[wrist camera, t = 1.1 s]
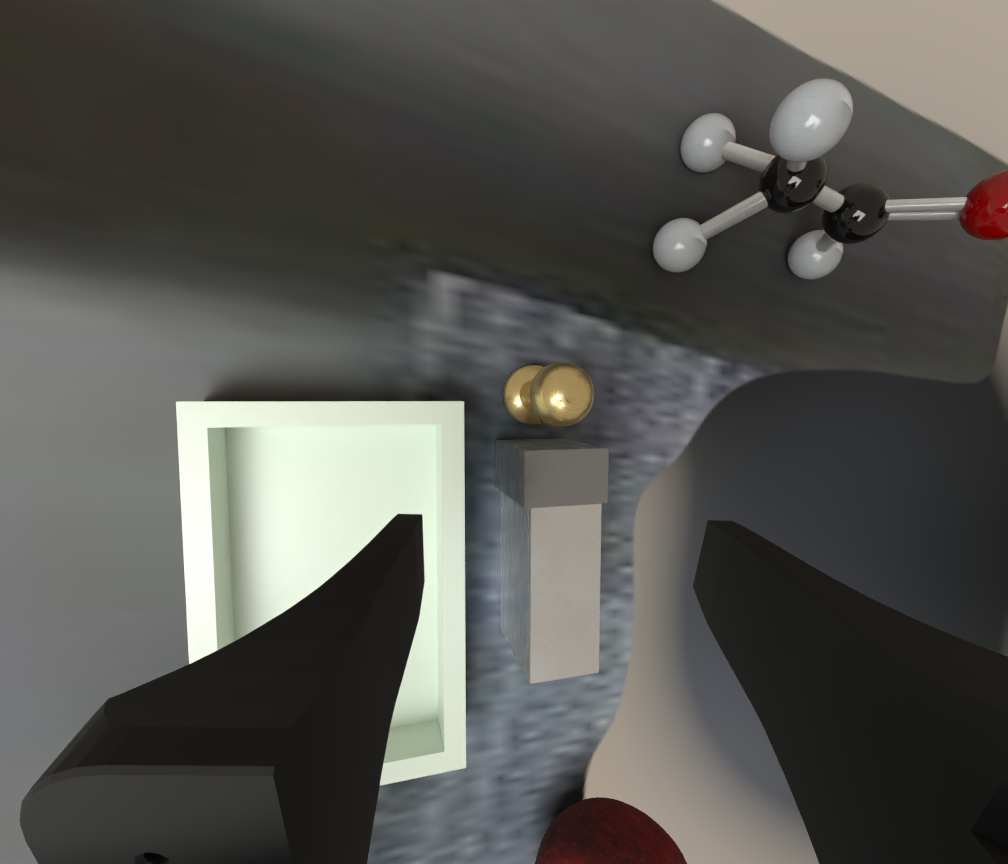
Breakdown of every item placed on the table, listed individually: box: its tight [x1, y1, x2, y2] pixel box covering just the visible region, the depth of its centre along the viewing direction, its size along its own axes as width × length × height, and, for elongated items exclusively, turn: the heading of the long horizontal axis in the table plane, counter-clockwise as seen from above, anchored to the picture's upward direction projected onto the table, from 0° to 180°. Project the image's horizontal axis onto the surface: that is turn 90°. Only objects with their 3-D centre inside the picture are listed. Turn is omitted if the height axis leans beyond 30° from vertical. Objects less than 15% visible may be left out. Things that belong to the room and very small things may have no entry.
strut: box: [495, 438, 609, 684], centre depth 22 cm, size 10×4×5 cm, turn 0°
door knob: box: [503, 362, 594, 427], centre depth 21 cm, size 3×3×6 cm
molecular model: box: [653, 79, 1008, 279], centre depth 22 cm, size 8×12×11 cm
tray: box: [176, 401, 466, 786], centre depth 21 cm, size 17×11×3 cm, turn 0°
